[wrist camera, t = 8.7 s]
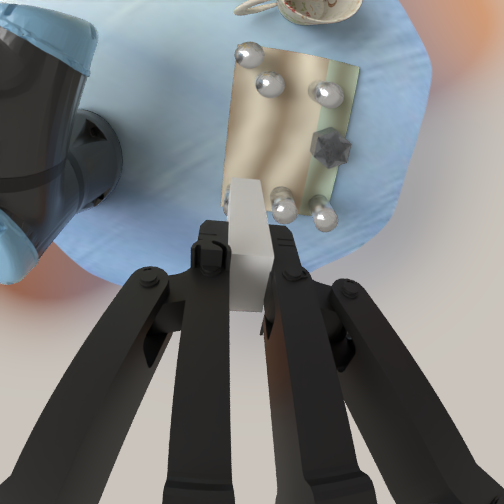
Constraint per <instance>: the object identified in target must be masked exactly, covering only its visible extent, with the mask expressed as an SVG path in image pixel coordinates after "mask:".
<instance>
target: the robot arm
mask: <svg viewBox="0 0 504 504" xmlns="http://www.w3.org/2000/svg"><path fill="white" fill-rule="evenodd" d="M97 43H98V32H97V29H96V28H95V27H94V25H92V24H91V23H90V22H88V21H85V20H83V19H80V18H77V17H74V16H71V15H68V14H65V13H61V12H57V11H53V10H49V9H45V8H40V7H35V6H29V5H18V4H9V3H0V283H1V284H8V285H9V284H14V283H17V282H19V281H21V280H22V279H23V278H24V277H25V276H26V275H27V274H28V273H29V271H30V270H31V269H32V268H33V267H35V266H36V265H37V263H38V261H39V259H40V257H41V256H42V254H43V253H44V252H45V250H46V249H47V248H48V246H49V245H50V244H51V243H52V242H53V240H54V239H55V238H56V237H57V235H58V234H59V233H60V232H61V231H62V229H63V228H64V227H65V226H66V225H67V223H68V222H69V221H70V220H71V219H72V217H73V216H74V215H75V214H78V213H80V212H83V211H85V210H88V209H91V208H93V207H95V206H97V205H98V204H100V203H101V202H102V201H104V200H105V199H106V198H107V196H108V195H109V194H110V193H111V192H112V191H113V189H114V188H115V186H116V185H117V183H118V181H119V178H120V175H121V170H122V151H121V147H120V143H119V140H118V138H117V136H116V134H115V132H114V131H113V129H112V128H111V126H110V125H109V124H108V123H107V122H106V121H105V120H104V119H103V118H101V117H100V116H99V115H97V114H95V113H93V112H90V111H87V110H78V106H79V103H80V99H81V96H82V92H83V89H84V86H85V83H86V80H87V77H89V76H90V70H89V69H90V65H91V62H92V58H93V55H94V52H95V49H96V46H97ZM263 305H264V310H265V315H264V318H263V322H262V327H261V331H260V335H263V332H264V342H265V353H266V363H267V375H268V386H269V397H270V408H271V420H272V431H273V442H274V453H275V465H276V477H277V496H276V503H275V504H377V500H376V494H375V489H374V486H373V482H372V480H371V479H370V477H369V476H368V475H367V474H365V473H364V472H362V471H361V470H360V468H359V466H358V463H357V459H356V454H355V449H354V444H353V439H352V434H351V430H350V425H349V421H348V416H347V412H346V407H345V403H346V405H347V407H348V409H349V411H350V412H351V415H352V417H353V419H354V421H355V423H356V425H357V426H358V429H359V430H360V433H361V435H362V436H363V439H364V440H365V443H366V445H367V447H368V449H369V451H370V453H371V455H372V457H373V459H374V461H375V463H376V465H377V467H378V469H379V471H380V473H381V475H382V477H383V479H384V481H385V483H386V485H387V487H388V489H389V491H390V494H391V495H392V497H393V499H394V500H395V502H396V504H504V488H503V487H502V486H500V485H499V484H498V483H497V482H496V481H495V480H494V479H493V478H492V477H490V476H489V475H488V474H487V473H486V472H485V471H484V470H483V469H482V468H481V467H479V466H478V465H477V464H476V462H475V460H474V458H473V456H472V455H471V453H470V451H469V449H468V448H467V445H466V444H465V442H464V440H463V438H462V436H461V435H460V433H459V431H458V429H457V428H456V426H455V424H454V422H453V421H452V419H451V417H450V416H449V414H448V413H447V411H446V409H445V407H444V406H443V404H442V402H441V401H440V399H439V397H438V396H437V394H436V393H435V391H434V389H433V388H432V386H431V385H430V383H429V382H428V380H427V378H426V377H425V375H424V374H423V372H422V371H421V369H420V368H419V366H418V365H417V363H416V361H415V360H414V359H413V357H412V355H411V354H410V352H409V351H408V349H407V348H406V346H405V345H404V344H403V342H402V341H401V339H400V338H399V336H398V335H397V333H396V332H395V331H394V329H393V328H392V326H391V325H390V323H389V322H388V321H387V319H386V318H385V317H384V315H383V314H382V312H381V311H380V309H379V308H378V307H377V305H376V304H375V303H374V301H373V300H372V299H371V297H370V296H369V295H368V293H367V292H366V290H365V289H364V288H363V287H362V286H361V285H360V284H359V283H357V282H355V281H353V280H350V279H338V280H336V281H335V282H334V283H333V285H332V286H329V285H325V284H322V283H319V282H316V281H314V280H312V278H311V275H310V274H309V272H308V271H307V270H306V269H305V268H304V267H302V266H301V263H300V259H299V256H298V252H297V249H296V245H295V242H294V238H293V235H292V232H291V231H290V230H289V229H288V228H287V227H286V226H281V225H270V224H268V219H267V214H266V209H265V203H264V198H263V193H262V187H261V182H260V180H256V179H246V178H235V177H231V185H230V194H229V204H228V214H227V222H225V221H212V220H206V221H205V222H204V223H203V224H202V225H201V226H200V230H199V236H198V241H197V242H195V243H194V244H193V245H192V247H191V268H190V269H188V270H187V271H185V272H183V273H180V274H176V275H169V276H168V274H167V273H166V272H165V271H164V270H163V269H160V268H158V267H152V266H149V267H143V268H140V269H138V270H136V271H135V272H134V273H133V274H132V275H131V276H130V277H129V279H128V280H127V282H126V283H125V284H124V286H123V287H122V289H121V290H120V291H119V292H118V294H117V295H116V297H115V298H114V299H113V301H112V302H111V304H110V305H109V306H108V308H107V310H106V311H105V312H104V314H103V315H102V317H101V318H100V320H99V321H98V322H97V324H96V325H95V327H94V328H93V330H92V332H91V333H90V334H89V336H88V337H87V339H86V340H85V342H84V344H83V345H82V346H81V348H80V350H79V351H78V353H77V354H76V356H75V357H74V359H73V361H72V362H71V364H70V366H69V367H68V369H67V370H66V372H65V374H64V375H63V377H62V378H61V380H60V382H59V384H58V385H57V387H56V389H55V390H54V392H53V394H52V395H51V397H50V399H49V401H48V403H47V404H46V406H45V408H44V410H43V411H42V413H41V415H40V417H39V419H38V421H37V423H36V424H35V426H34V428H33V430H32V432H31V434H30V436H29V438H28V440H27V442H26V444H25V446H24V448H23V450H22V452H21V454H20V456H19V459H18V461H17V463H16V465H15V467H14V469H13V472H12V474H11V476H10V477H8V478H7V479H6V480H5V481H4V482H3V483H2V484H1V485H0V504H98V503H99V501H100V498H101V496H102V493H103V491H104V488H105V486H106V483H107V481H108V478H109V476H110V473H111V471H112V468H113V466H114V464H115V461H116V459H117V456H118V454H119V452H120V449H121V447H122V445H123V442H124V440H125V437H126V435H127V433H128V431H129V428H130V426H131V424H132V421H133V419H134V417H135V415H136V412H137V410H138V408H139V406H140V403H141V401H142V399H143V397H144V394H145V392H146V390H147V388H148V385H149V383H150V381H151V379H152V377H153V374H154V373H155V370H156V368H157V366H158V364H159V362H160V360H161V357H162V355H163V353H164V351H165V349H166V347H167V345H168V343H169V340H170V338H171V336H172V333H173V332H175V331H180V330H181V337H180V343H179V351H178V359H177V368H176V376H175V385H174V395H173V405H172V416H171V428H170V441H169V455H168V472H167V480H166V483H165V486H164V491H163V502H162V504H235V497H234V490H233V485H232V469H231V432H230V368H229V367H230V363H229V362H230V360H229V359H230V358H229V311H247V312H262V309H263ZM344 401H345V403H344Z"/></svg>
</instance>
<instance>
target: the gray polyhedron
mask: <svg viewBox="0 0 504 504" xmlns="http://www.w3.org/2000/svg"><path fill="white" fill-rule="evenodd" d="M350 148H351V143H350V142H349V141H348V140H347V139H346V138H344V137H343V136H342V135H341V134H340V133H339V132H338V131H337V130H335V129H334V128H333V127H328V128H325V129H322V130H320V131H317V132H314V133H313V136H312V141H311V146H310V152H311V154H312V155H313V157H314V158H316V159H317V160H318V161H319V162H321V163H322V164H323V165H324V166H325V167H327V168H328V169H330V168H333V167H336V166H339V165H342V164H345V163H347V160H348V156H349V152H350Z"/></svg>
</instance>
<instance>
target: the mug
mask: <svg viewBox="0 0 504 504" xmlns="http://www.w3.org/2000/svg"><path fill="white" fill-rule="evenodd" d="M266 1H270V0H248V1H246V2H244V3H242V4H241V5H239V6H238V7H236V8H235V10H234V14H235V15H238V16H241V15H248V14H253V13H258V12H261V11H264V10H267V9H270V8H273V7H275V6H278V9H279V11H280V13H281V14H282V15H283V16H284V17H285V18H286V19H287V20H289V21H290V22H292V23H295V24H298V25H316V24H330V23H337V22H341V21H343V20H346V19H348V18H350V17H351V16H352V15H354V14H355V13H356V12H357V11H358V9H359V8H360V6H361V4H362V1H363V0H277V3H271V4H266V5H262V6H257V7H252V6H254V5H256V4H259V3H263V2H266ZM250 7H252V8H250ZM248 8H249V9H248Z"/></svg>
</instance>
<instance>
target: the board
mask: <svg viewBox="0 0 504 504" xmlns="http://www.w3.org/2000/svg"><path fill="white" fill-rule="evenodd" d="M238 46H239V45H238ZM262 48H263V50H264V54H265V56H264V60H263V62H262V63H261V64H260V65H259V66H257V67H255V68H251V69H247V68H244V67H242V66H240V65H239V64H238V63H237V61H236V62H235V70H234V78H233V86H232V95H231V104H230V113H229V122H228V131H227V141H226V152H225V162H224V173H223V184H222V196H221V207H223V206H224V199H225V192H226V188H227V186H228V185H229V184H230V183H231V177H235V178H246V179H256V180H260V182H261V187H262V193H263V198H264V203H265V209H266V211H272V206H271V201H270V193H271V191H272V190H273V189H274V188H276V187H278V186H284V187H287V188H288V189H289V190H290V191H291V193H292V196H293V199H294V202H295V205H296V209H297V214H299V215H307V216H312V215H311V213H310V210H309V207H308V202H309V200H310V199H311V198H312V197H313V196H315V195H324V196H325V197H326V198H327V199H328V201H329V202H330V198H331V194H332V190H333V186H334V182H335V178H336V174H337V170H338V166H336V167H333V168H330V169H328V168H327V167H325V166H324V165H323V164H322V163H321V162H319V161H318V160H317V159H316V158H314V157H313V155H312V154H311V152H310V146H311V141H312V136H313V133H314V132H317V131H320V130H322V129H325V128H328V127H333V128H334V129H335V130H337V131H338V132H339V133H340V134H341V135H342V136H343V137H344V138H345V137H346V132H347V128H348V123H349V119H350V114H351V109H352V104H353V100H354V95H355V90H356V84H357V79H358V74H359V68H360V67H357V66H353V65H350V64H346V63H342V62H338V61H334V60H330V59H326V58H322V57H317V56H313V55H308V54H303V53H297V52H292V51H286V50H280V49H273V48H266V47H262ZM263 71H273V72H276V73H278V74H280V75H281V76H282V77H283V79H284V82H285V88H284V91H283V92H282V93H281V94H280V95H279V96H277V97H275V98H266V97H264V96H262V95H261V94H260V93H259V92H258V91H257V89H256V87H255V84H254V81H255V78H256V76H257V75H258V74H259V73H261V72H263ZM316 80H322V81H327V82H332V83H335V84H337V85H339V86H340V87H341V88H342V90H343V92H344V100H343V102H342V104H341V105H340V106H338V107H337V108H333V109H330V108H326V107H324V106H322V105H320V104H318V103H316V102H314V101H313V100H312V99H311V98H310V97H309V95H308V87H309V85H310V84H311V83H312V82H314V81H316Z"/></svg>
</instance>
